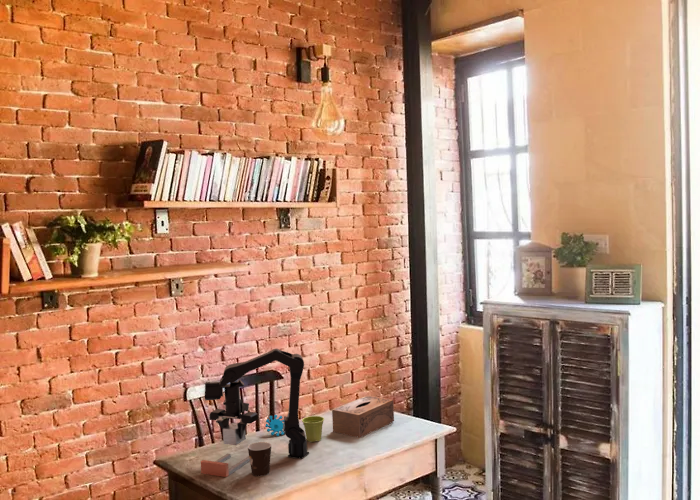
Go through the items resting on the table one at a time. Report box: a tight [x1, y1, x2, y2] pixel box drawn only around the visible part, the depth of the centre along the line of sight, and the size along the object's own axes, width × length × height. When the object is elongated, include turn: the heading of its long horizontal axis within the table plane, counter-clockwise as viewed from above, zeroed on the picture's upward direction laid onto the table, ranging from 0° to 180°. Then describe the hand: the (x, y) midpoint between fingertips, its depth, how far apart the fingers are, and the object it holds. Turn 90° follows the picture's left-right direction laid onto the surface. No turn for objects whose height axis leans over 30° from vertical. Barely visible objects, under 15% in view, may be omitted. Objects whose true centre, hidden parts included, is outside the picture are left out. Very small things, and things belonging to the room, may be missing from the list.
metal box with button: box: [222, 422, 247, 446], centre depth 254 cm, size 6×8×6 cm
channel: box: [200, 453, 250, 478], centre depth 249 cm, size 11×18×4 cm, turn 157°
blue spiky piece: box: [265, 414, 285, 437], centre depth 285 cm, size 11×6×10 cm
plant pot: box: [301, 415, 325, 443], centre depth 275 cm, size 9×9×9 cm
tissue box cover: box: [331, 394, 395, 439], centre depth 290 cm, size 26×14×10 cm, turn 142°
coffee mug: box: [247, 441, 272, 477], centre depth 240 cm, size 12×9×10 cm
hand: (234, 437), depth 254 cm, fingers closed on metal box with button, 5 cm apart
